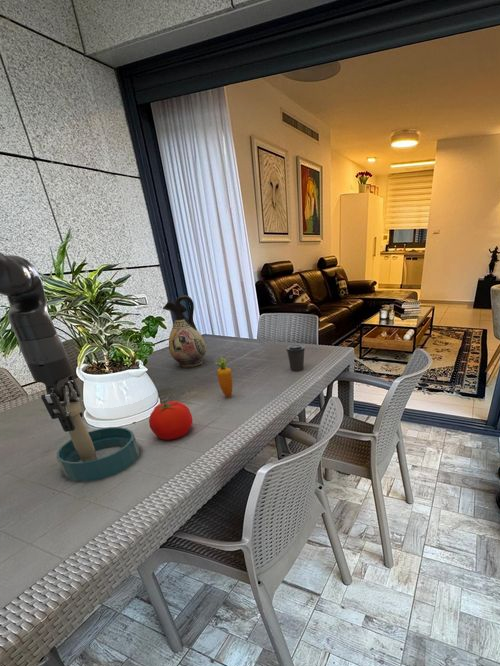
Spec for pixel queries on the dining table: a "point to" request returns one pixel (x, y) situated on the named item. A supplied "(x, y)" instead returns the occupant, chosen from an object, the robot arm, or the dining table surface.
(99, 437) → the teal ring
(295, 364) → the coffee cup
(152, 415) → the tomato
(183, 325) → the ceramic jug
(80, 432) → the handle
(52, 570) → the dining table surface
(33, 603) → the dining table surface
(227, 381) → the carrot
